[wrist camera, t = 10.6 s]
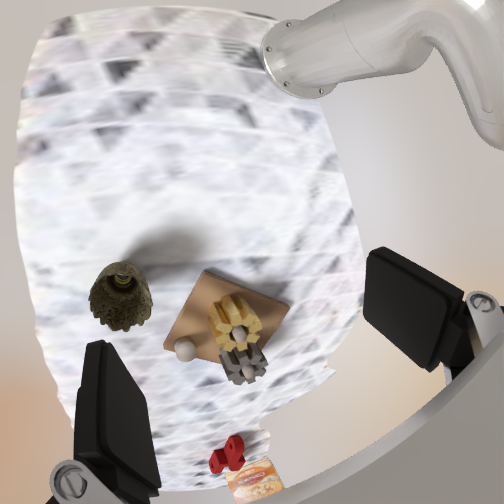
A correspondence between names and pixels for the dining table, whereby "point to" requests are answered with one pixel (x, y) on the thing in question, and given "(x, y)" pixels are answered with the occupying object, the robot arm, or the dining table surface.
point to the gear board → (201, 312)
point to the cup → (121, 297)
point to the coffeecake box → (254, 481)
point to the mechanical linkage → (228, 456)
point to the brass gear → (233, 322)
